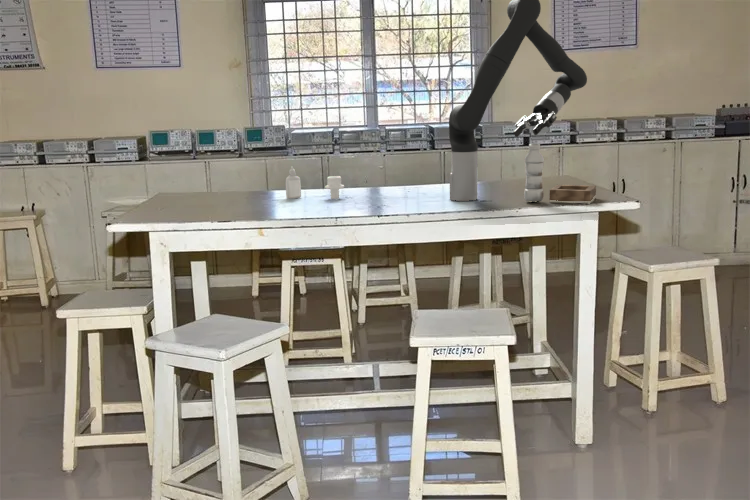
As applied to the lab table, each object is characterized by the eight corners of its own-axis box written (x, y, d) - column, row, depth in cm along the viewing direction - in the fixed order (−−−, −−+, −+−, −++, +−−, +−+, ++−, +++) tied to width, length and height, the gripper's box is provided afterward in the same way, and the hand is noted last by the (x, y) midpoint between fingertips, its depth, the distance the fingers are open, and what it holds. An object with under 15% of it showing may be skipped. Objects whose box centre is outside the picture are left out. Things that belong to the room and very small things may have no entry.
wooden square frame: (549, 202, 253) (549, 189, 252) (556, 197, 265) (557, 184, 264) (590, 204, 248) (590, 190, 247) (595, 198, 260) (596, 185, 259)
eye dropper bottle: (301, 198, 280) (299, 166, 277) (286, 199, 279) (284, 167, 277) (301, 196, 284) (299, 165, 281) (286, 197, 283) (284, 166, 281)
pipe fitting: (333, 200, 273) (332, 178, 271) (322, 198, 279) (321, 176, 277) (347, 198, 277) (346, 176, 275) (336, 196, 282) (336, 175, 281)
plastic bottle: (538, 204, 250) (539, 145, 246) (520, 203, 254) (521, 144, 250) (546, 202, 255) (548, 143, 251) (528, 200, 259) (529, 143, 255)
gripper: (528, 100, 264) (504, 126, 257) (561, 95, 253) (536, 122, 246) (537, 117, 267) (513, 144, 260) (569, 113, 256) (545, 141, 249)
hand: (524, 133), depth 253 cm, fingers open, 8 cm apart
